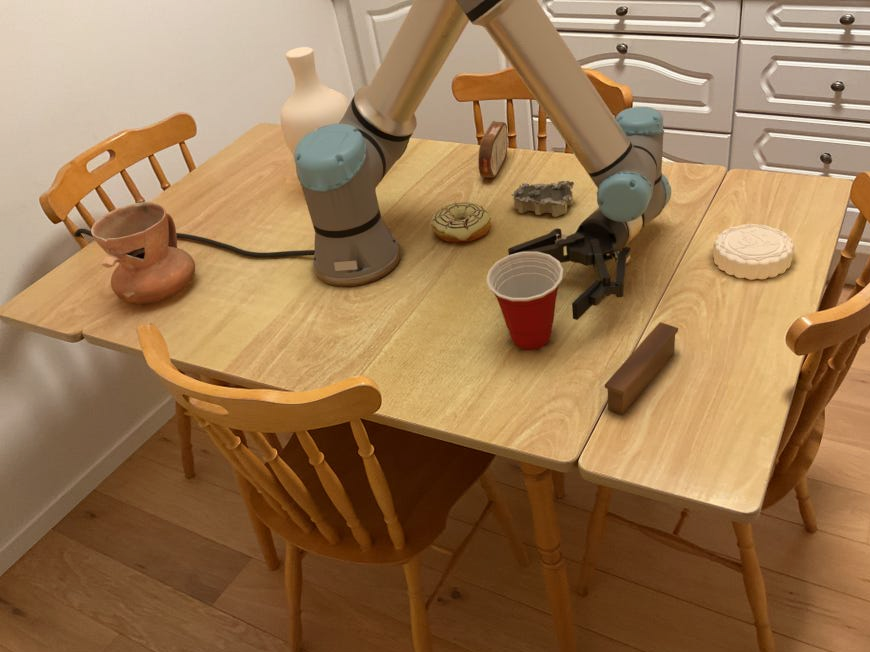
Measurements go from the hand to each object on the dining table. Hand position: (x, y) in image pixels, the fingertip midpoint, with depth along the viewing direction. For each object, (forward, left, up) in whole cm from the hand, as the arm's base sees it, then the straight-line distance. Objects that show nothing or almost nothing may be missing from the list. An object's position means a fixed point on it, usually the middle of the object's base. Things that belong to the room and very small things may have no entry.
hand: (534, 298), depth 112 cm
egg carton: (-17, +34, -7) cm, 39 cm away
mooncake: (+23, +30, -7) cm, 39 cm away
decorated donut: (-27, +21, -7) cm, 35 cm away
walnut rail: (+18, -4, -6) cm, 20 cm away
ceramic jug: (-69, -15, -7) cm, 71 cm away
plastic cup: (0, -2, -7) cm, 7 cm away
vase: (-63, +27, -7) cm, 69 cm away
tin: (-34, +45, -7) cm, 57 cm away
